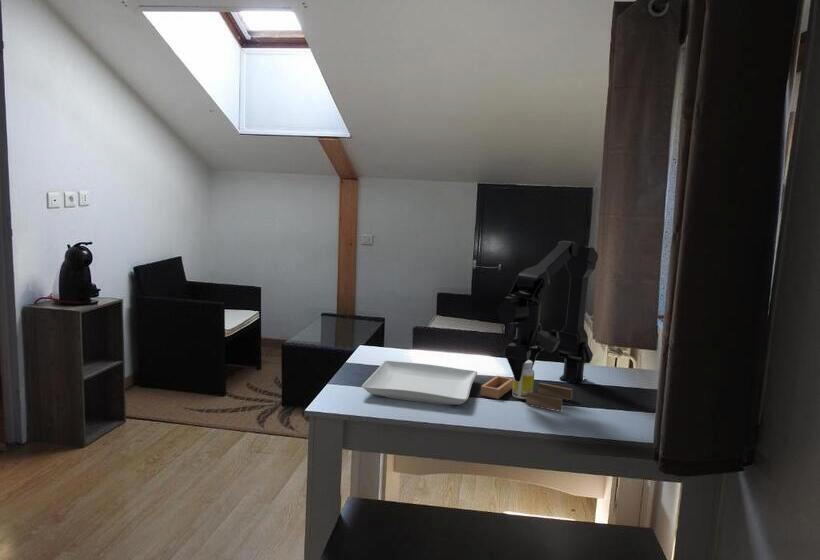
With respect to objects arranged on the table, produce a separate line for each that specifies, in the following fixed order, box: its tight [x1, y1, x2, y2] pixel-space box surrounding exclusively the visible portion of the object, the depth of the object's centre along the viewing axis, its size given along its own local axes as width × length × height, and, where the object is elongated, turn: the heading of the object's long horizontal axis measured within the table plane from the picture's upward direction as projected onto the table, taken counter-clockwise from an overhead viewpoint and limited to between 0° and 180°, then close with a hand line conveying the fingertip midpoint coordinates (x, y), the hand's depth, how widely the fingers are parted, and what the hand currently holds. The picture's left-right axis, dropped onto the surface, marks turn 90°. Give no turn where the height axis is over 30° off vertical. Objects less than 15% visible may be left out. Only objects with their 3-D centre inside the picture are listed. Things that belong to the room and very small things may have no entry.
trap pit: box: [480, 375, 513, 400], centre depth 176 cm, size 12×5×2 cm, turn 152°
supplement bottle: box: [511, 360, 535, 400], centre depth 172 cm, size 5×5×10 cm
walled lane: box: [525, 382, 574, 412], centre depth 169 cm, size 11×9×3 cm
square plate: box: [361, 360, 478, 406], centre depth 174 cm, size 27×27×4 cm
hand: (523, 377), depth 172 cm, fingers open, 9 cm apart
